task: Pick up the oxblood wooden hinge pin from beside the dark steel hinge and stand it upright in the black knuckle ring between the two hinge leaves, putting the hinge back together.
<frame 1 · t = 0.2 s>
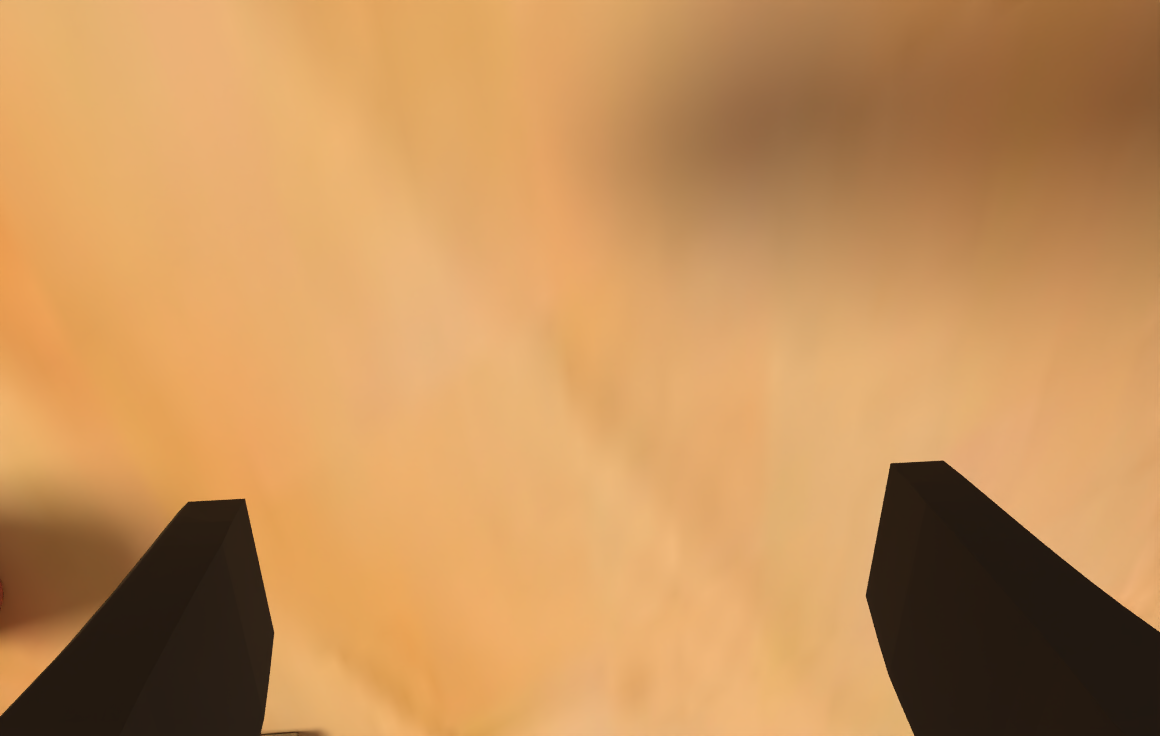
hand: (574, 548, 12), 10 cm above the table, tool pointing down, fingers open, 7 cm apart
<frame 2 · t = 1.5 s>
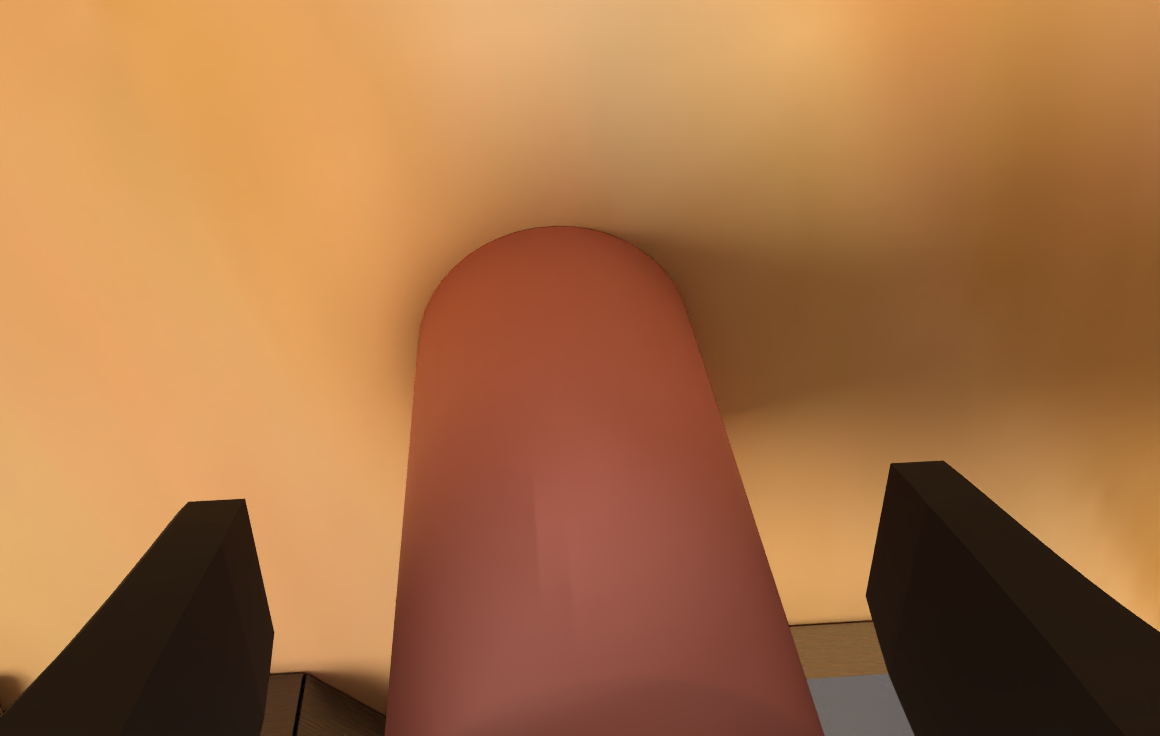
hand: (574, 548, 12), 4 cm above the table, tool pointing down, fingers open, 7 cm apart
hinge pin: (555, 350, 16), on the table
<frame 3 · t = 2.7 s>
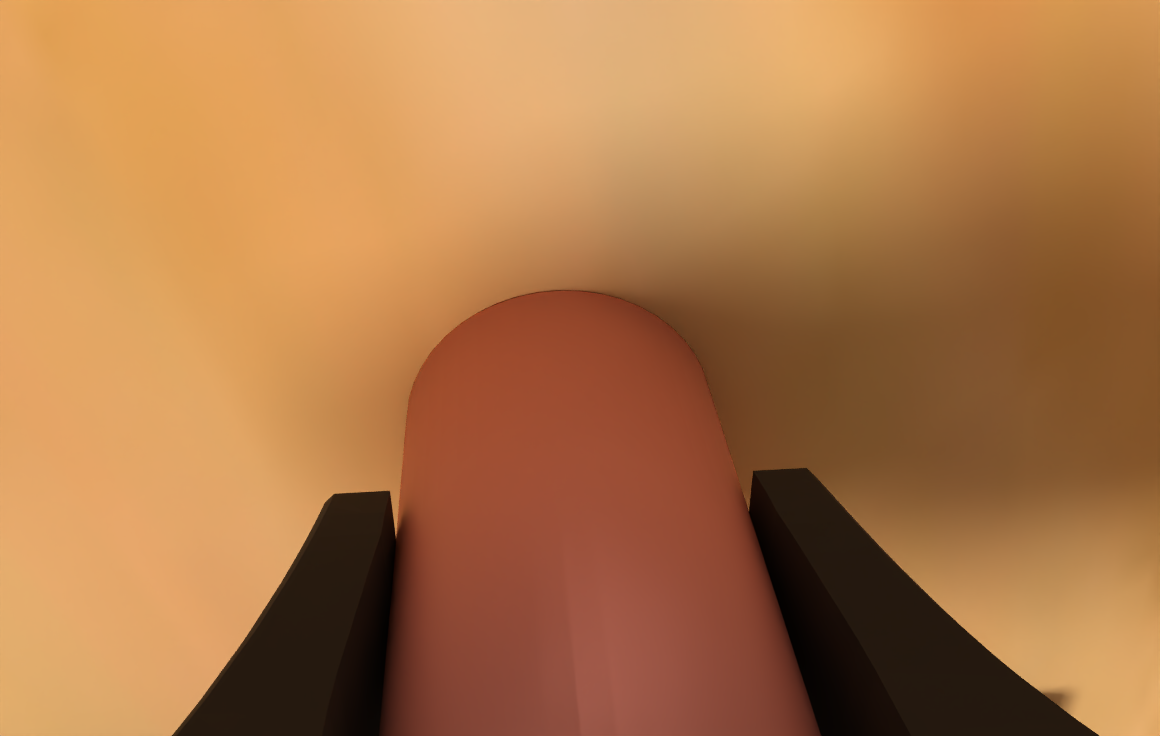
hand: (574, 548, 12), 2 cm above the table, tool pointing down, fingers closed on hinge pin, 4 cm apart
hinge pin: (560, 424, 14), on the table, touching gripper
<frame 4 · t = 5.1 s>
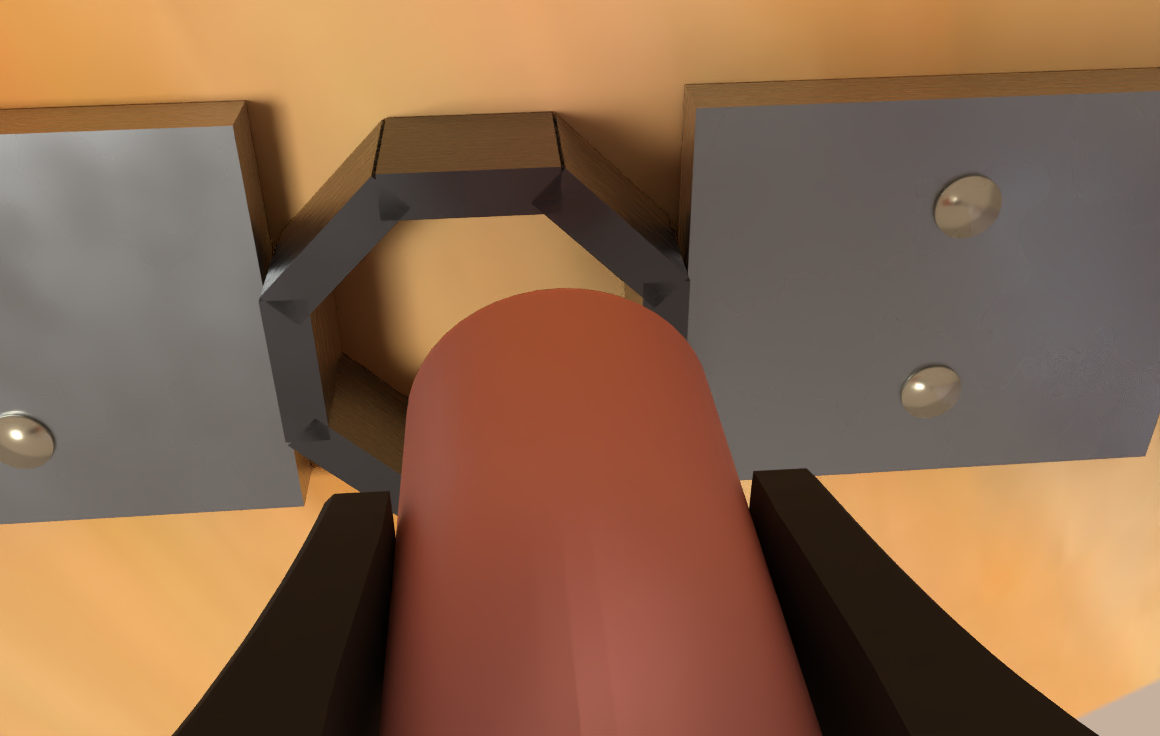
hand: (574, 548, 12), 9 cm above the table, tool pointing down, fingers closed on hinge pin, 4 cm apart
hinge pin: (560, 421, 14), point 7 cm above the table, touching gripper
hinge: (481, 294, 21), on the table
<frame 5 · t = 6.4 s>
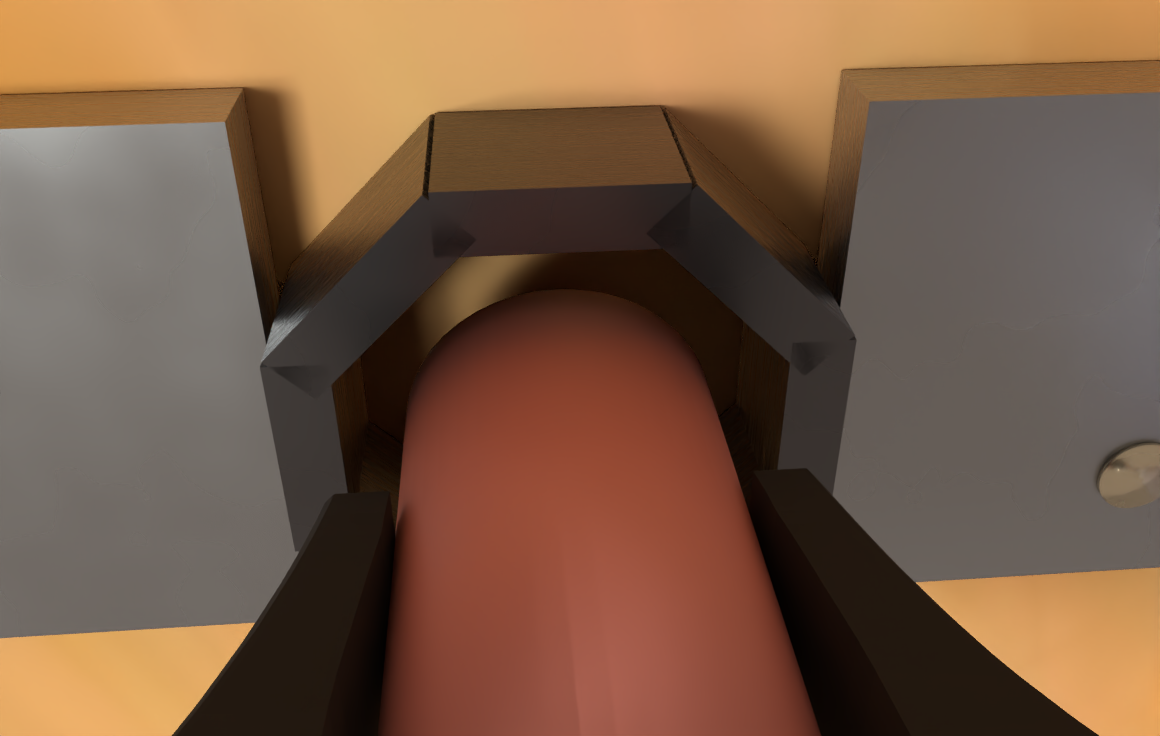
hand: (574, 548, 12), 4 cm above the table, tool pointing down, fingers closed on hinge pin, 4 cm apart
hinge pin: (559, 422, 14), point 2 cm above the table, touching gripper
hinge: (553, 347, 16), on the table
when the fingers open (4 cm above the table, at t = 7.3 s): hinge pin drops 1 cm, resting in hinge.
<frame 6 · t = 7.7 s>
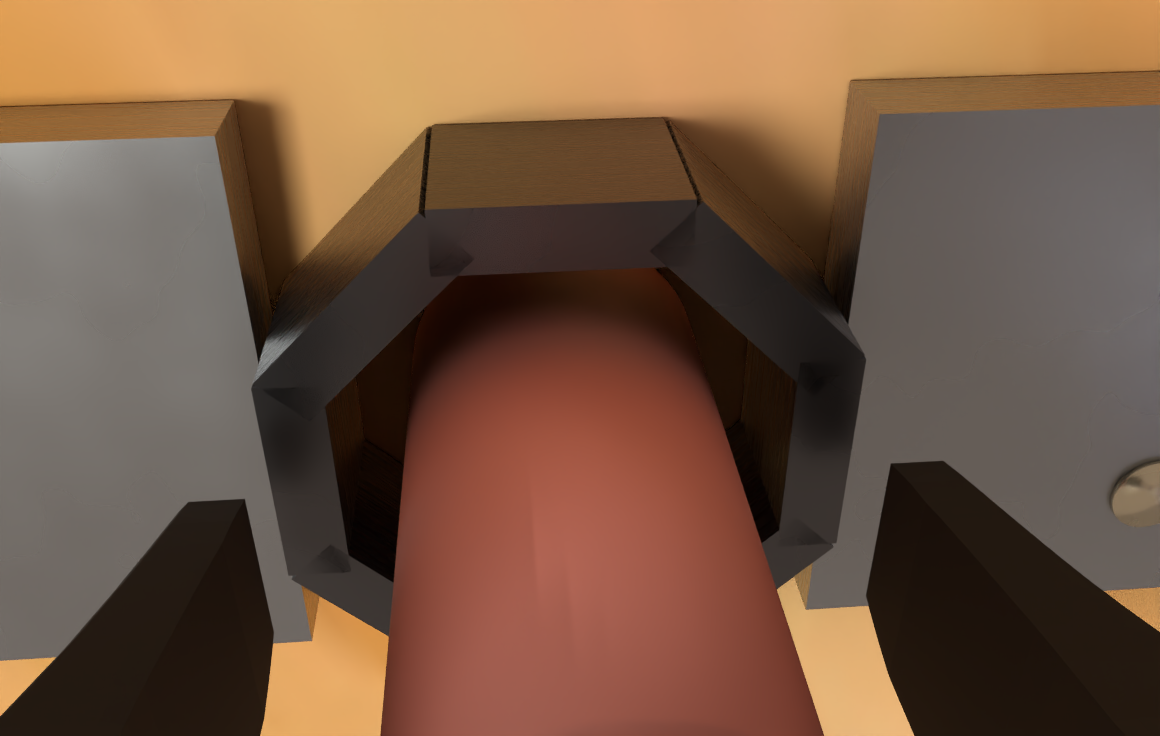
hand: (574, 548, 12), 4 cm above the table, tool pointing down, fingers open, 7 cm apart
hinge pin: (554, 361, 16), resting in hinge
hinge: (553, 363, 16), on the table
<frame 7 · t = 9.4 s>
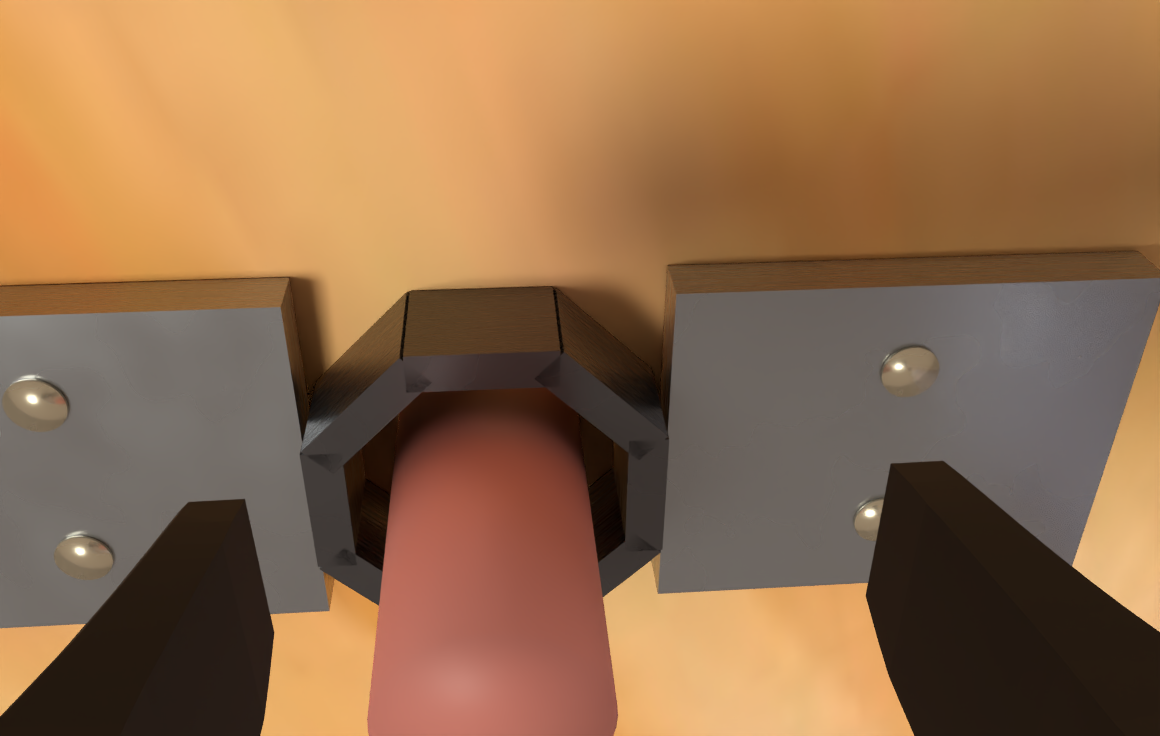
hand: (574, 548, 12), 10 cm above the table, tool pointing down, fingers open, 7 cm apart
hinge pin: (489, 430, 24), resting in hinge
hinge: (488, 432, 24), on the table
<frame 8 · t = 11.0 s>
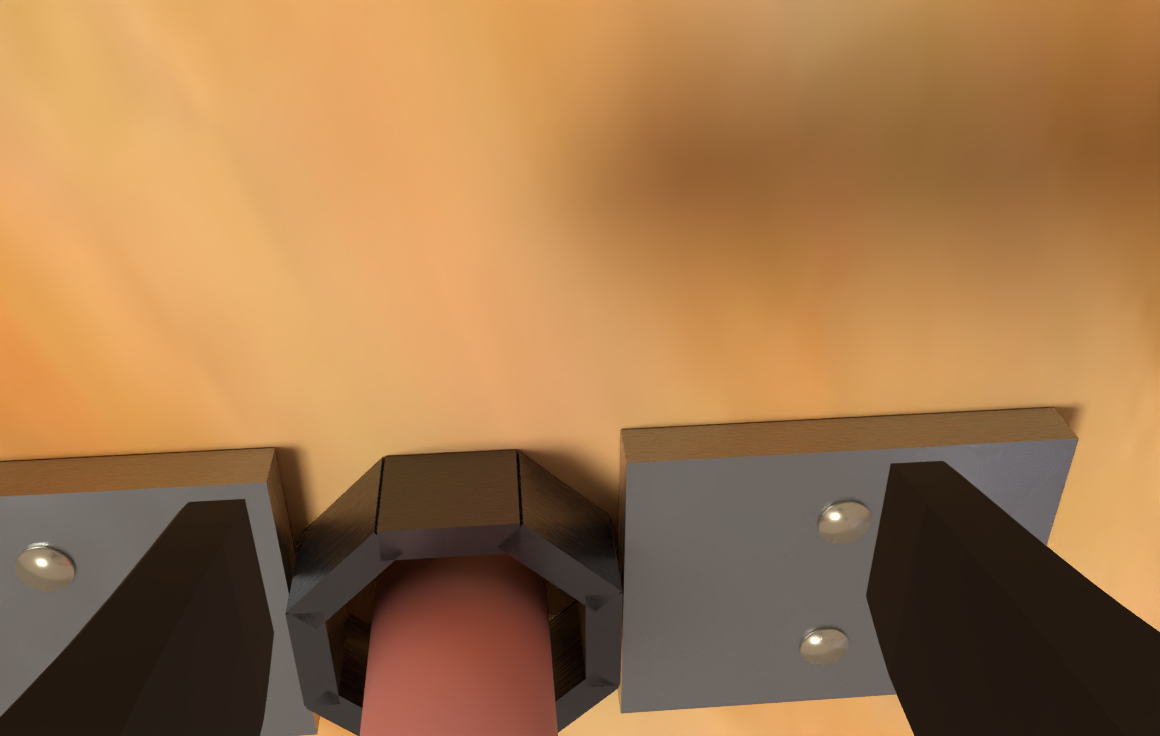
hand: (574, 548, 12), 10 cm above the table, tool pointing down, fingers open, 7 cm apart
hinge pin: (461, 571, 26), resting in hinge
hinge: (460, 572, 26), on the table
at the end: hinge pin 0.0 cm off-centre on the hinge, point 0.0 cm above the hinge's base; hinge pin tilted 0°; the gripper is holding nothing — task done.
